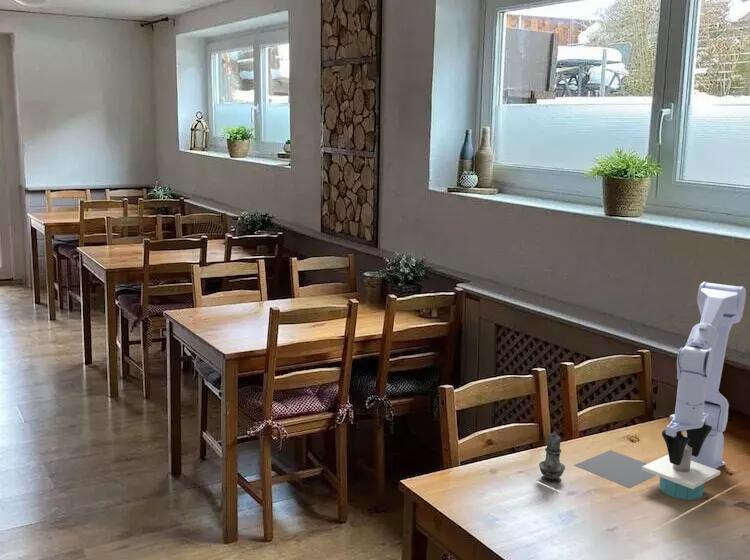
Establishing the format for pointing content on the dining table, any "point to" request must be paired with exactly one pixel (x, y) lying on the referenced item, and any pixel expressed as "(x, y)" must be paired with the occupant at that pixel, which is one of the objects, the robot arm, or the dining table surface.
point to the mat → (617, 468)
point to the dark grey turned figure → (552, 461)
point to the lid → (682, 470)
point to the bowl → (680, 490)
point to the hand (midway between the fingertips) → (684, 459)
